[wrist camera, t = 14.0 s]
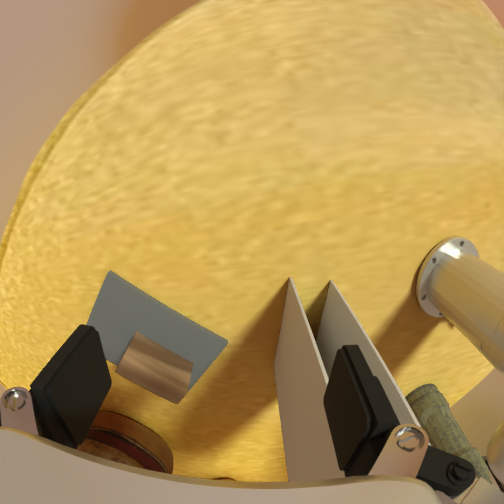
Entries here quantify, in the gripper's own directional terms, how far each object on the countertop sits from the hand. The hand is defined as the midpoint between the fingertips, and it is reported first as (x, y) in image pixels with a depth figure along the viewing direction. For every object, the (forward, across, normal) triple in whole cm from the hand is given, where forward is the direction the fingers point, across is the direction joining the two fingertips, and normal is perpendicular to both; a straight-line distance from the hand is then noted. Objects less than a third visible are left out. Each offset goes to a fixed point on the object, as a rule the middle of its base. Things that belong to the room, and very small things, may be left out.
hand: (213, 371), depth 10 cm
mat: (+24, +12, +17) cm, 32 cm away
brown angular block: (+23, +10, +19) cm, 31 cm away
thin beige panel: (+24, -9, +13) cm, 29 cm away
